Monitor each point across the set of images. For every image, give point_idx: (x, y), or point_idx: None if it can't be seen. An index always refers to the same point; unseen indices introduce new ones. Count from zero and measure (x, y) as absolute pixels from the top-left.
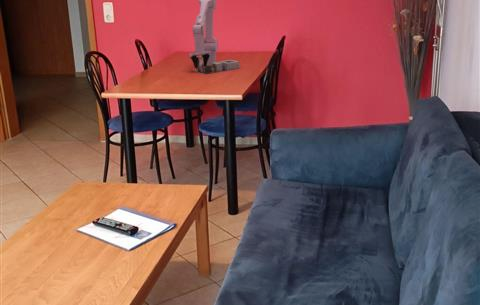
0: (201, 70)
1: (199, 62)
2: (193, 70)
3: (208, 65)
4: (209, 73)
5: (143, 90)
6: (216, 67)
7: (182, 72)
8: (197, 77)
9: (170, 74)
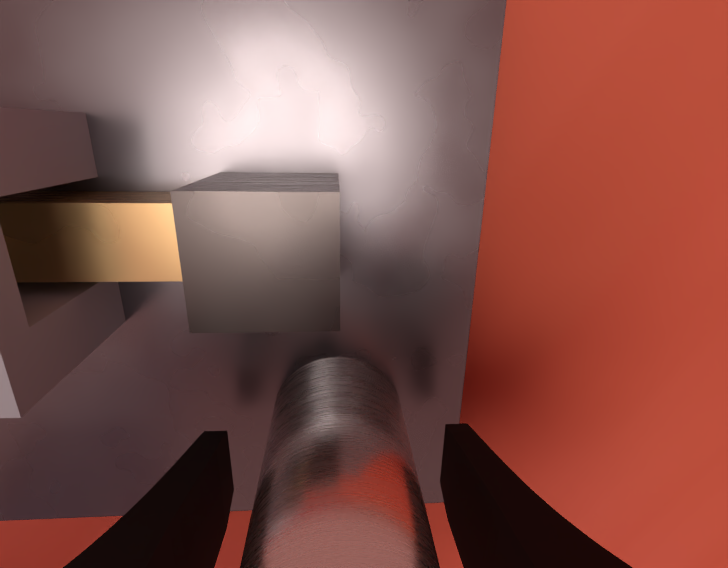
0: (362, 366)
1: (417, 524)
2: (423, 494)
3: (228, 294)
4: (393, 2)
5: None
6: (30, 141)
7: None
8: (682, 48)
9: (709, 547)
